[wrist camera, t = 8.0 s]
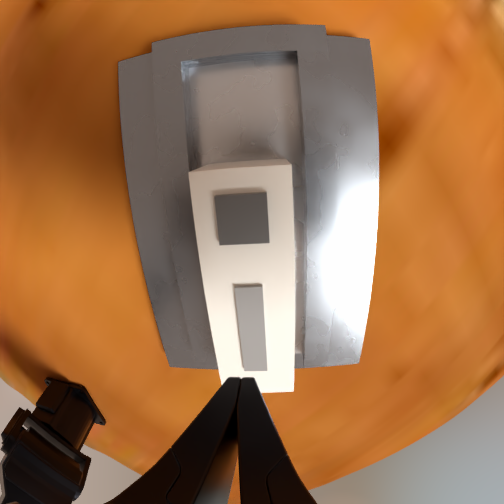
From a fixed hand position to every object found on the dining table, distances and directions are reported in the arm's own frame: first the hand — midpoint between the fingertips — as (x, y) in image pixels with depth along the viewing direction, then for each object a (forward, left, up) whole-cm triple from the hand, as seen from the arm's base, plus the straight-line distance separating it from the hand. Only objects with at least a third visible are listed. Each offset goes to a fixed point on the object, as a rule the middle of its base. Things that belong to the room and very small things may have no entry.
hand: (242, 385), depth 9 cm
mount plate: (+3, 0, -10) cm, 10 cm away
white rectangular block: (0, 0, -9) cm, 9 cm away
